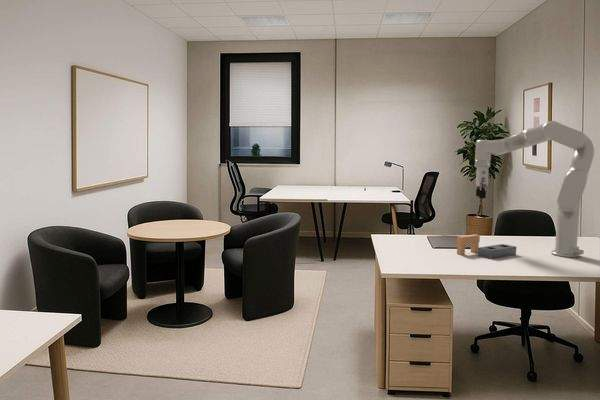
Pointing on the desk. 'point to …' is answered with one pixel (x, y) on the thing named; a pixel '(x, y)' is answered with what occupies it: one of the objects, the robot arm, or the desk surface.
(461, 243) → the tan block
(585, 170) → the robot arm
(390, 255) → the desk surface
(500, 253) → the dark gray slotted block
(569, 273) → the desk surface
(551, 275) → the desk surface
